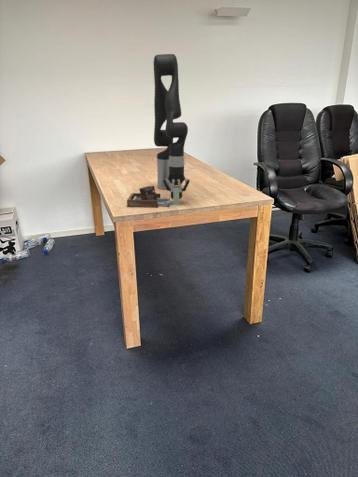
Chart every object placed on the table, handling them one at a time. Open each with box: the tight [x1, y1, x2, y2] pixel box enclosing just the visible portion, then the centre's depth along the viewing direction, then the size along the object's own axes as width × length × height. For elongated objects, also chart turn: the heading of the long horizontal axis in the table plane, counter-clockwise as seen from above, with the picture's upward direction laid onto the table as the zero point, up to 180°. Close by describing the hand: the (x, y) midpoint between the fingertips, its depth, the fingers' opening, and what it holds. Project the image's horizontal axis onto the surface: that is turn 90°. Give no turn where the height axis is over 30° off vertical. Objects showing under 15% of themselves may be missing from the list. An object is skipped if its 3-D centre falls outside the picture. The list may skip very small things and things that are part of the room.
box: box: [138, 185, 157, 200], centre depth 183 cm, size 6×6×7 cm
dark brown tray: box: [126, 192, 162, 209], centre depth 185 cm, size 14×15×4 cm
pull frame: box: [133, 185, 180, 208], centre depth 183 cm, size 9×24×9 cm, turn 88°
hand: (176, 198), depth 183 cm, fingers closed on pull frame, 3 cm apart
